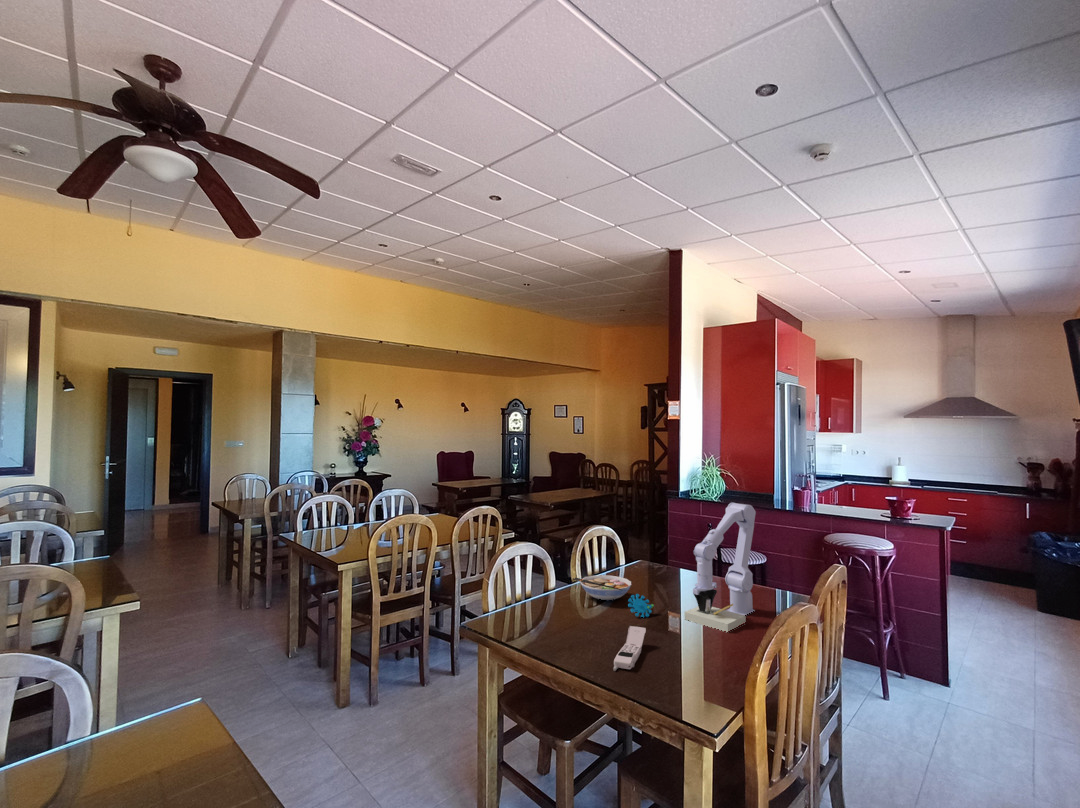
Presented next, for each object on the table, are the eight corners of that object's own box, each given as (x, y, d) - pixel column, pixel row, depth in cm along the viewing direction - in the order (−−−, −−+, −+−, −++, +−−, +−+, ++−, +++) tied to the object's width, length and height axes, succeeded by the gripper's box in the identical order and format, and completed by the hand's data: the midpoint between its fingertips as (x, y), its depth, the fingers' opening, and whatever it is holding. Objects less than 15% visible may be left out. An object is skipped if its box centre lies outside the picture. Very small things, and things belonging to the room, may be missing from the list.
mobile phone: (646, 627, 178) (629, 654, 155) (647, 645, 177) (630, 675, 154) (629, 625, 180) (610, 651, 157) (629, 642, 180) (610, 671, 157)
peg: (703, 616, 205) (703, 596, 206) (711, 619, 203) (712, 599, 203) (698, 618, 203) (699, 598, 203) (707, 621, 200) (707, 600, 201)
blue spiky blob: (631, 615, 201) (626, 592, 209) (626, 622, 205) (621, 599, 213) (657, 617, 204) (651, 594, 211) (651, 624, 207) (646, 601, 215)
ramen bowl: (643, 598, 228) (643, 580, 229) (615, 611, 211) (615, 591, 212) (597, 587, 245) (597, 570, 245) (567, 598, 228) (567, 579, 228)
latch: (713, 614, 199) (713, 613, 199) (717, 613, 201) (717, 611, 201) (729, 606, 194) (728, 605, 194) (733, 605, 196) (732, 603, 196)
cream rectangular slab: (703, 611, 211) (703, 604, 211) (745, 623, 198) (745, 615, 198) (684, 619, 202) (684, 611, 202) (727, 632, 188) (727, 624, 189)
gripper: (705, 569, 212) (705, 603, 211) (685, 575, 202) (686, 611, 201) (721, 572, 206) (721, 607, 206) (702, 579, 197) (702, 615, 196)
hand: (705, 609), depth 203 cm, fingers open, 4 cm apart
